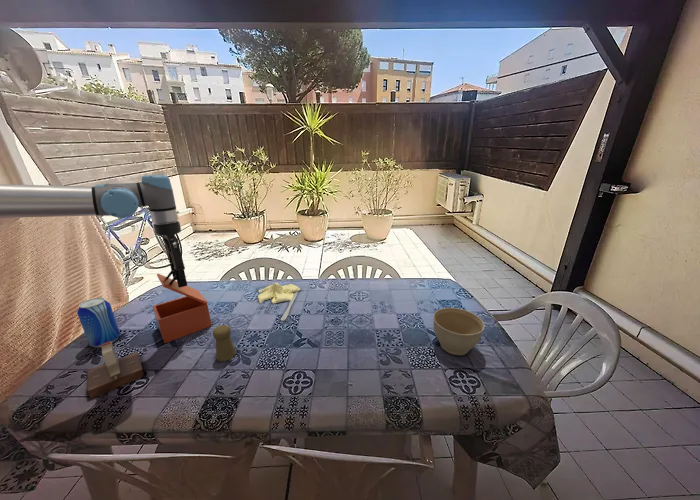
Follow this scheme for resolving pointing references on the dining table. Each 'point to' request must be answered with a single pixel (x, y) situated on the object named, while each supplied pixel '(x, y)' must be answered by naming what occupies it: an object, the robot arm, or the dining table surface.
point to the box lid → (184, 290)
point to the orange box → (181, 317)
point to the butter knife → (289, 307)
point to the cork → (223, 343)
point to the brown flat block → (103, 382)
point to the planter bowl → (457, 330)
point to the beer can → (98, 321)
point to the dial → (110, 358)
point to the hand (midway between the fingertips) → (180, 282)
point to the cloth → (278, 293)
